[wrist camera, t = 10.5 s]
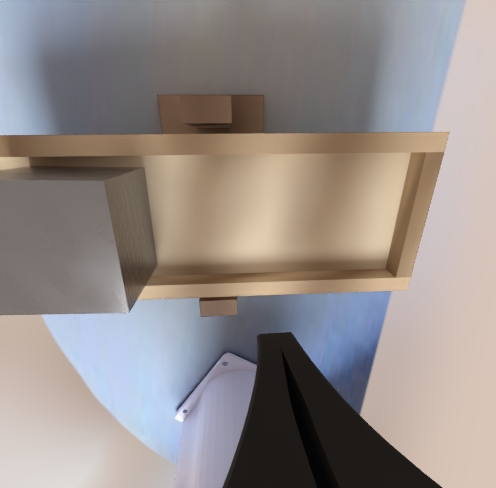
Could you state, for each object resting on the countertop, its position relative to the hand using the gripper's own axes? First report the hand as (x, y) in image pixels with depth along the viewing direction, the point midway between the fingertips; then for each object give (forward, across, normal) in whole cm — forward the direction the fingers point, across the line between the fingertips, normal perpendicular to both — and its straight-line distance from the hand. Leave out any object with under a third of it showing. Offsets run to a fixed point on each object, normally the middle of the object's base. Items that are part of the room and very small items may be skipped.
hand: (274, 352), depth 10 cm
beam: (+5, +2, -4) cm, 7 cm away
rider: (+5, +8, -4) cm, 10 cm away
